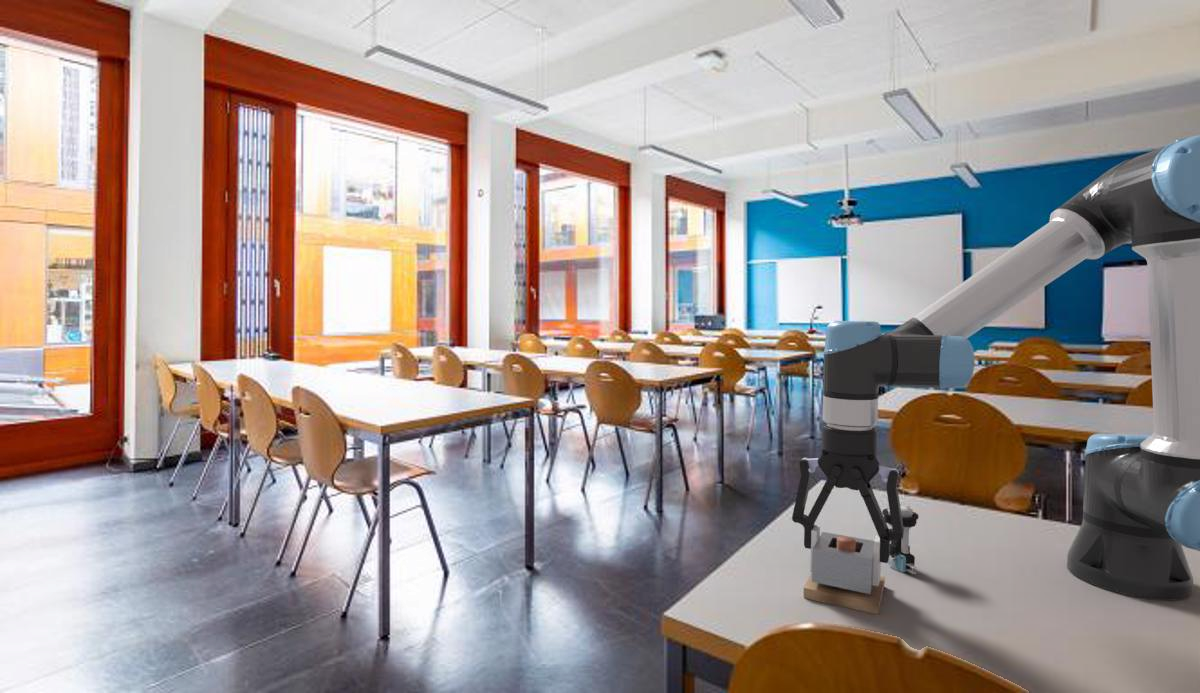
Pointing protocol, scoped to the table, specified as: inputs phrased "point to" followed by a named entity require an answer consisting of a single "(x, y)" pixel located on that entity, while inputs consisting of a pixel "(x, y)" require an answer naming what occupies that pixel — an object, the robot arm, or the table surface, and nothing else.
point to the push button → (902, 541)
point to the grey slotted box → (843, 564)
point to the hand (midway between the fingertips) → (844, 575)
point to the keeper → (844, 595)
